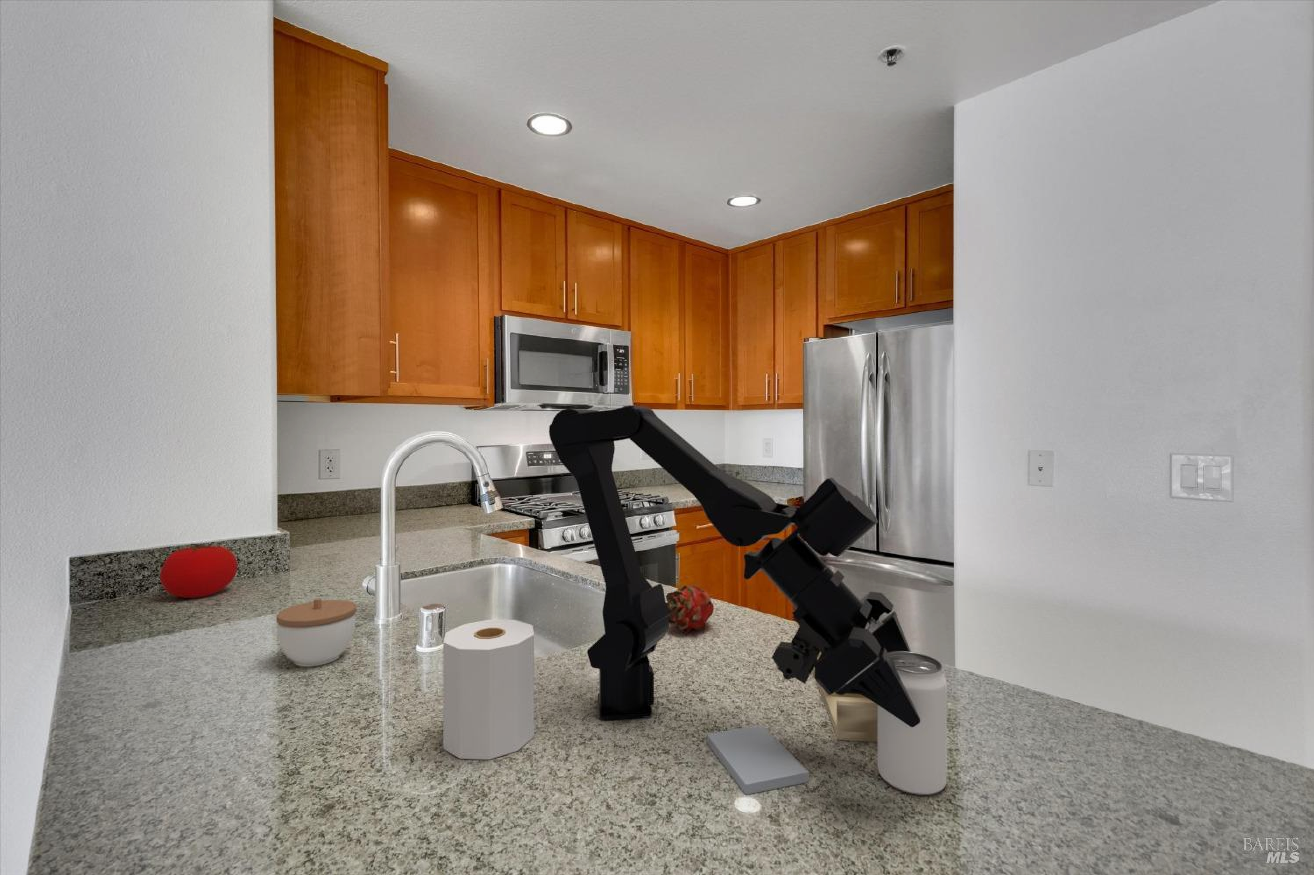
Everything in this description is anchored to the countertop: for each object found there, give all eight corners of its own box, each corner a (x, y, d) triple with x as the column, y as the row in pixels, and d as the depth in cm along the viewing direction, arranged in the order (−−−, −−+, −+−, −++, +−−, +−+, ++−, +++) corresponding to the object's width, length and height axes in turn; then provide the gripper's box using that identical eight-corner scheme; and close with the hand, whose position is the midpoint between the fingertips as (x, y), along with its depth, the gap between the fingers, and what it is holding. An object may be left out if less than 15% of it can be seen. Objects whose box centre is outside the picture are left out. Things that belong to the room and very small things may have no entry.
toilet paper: (535, 711, 74) (535, 616, 74) (532, 756, 63) (532, 646, 63) (451, 718, 72) (451, 620, 72) (434, 765, 62) (434, 651, 62)
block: (745, 794, 57) (745, 784, 57) (706, 742, 66) (706, 733, 66) (808, 781, 59) (808, 772, 59) (761, 733, 68) (761, 724, 68)
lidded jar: (259, 666, 88) (259, 604, 87) (324, 642, 97) (324, 586, 97) (310, 678, 84) (309, 612, 83) (372, 652, 93) (371, 593, 93)
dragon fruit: (670, 648, 99) (695, 636, 110) (710, 624, 97) (731, 614, 108) (646, 603, 102) (673, 596, 113) (684, 578, 100) (708, 573, 111)
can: (954, 801, 56) (955, 677, 56) (883, 793, 57) (884, 671, 57) (936, 764, 62) (937, 652, 62) (872, 757, 63) (873, 647, 63)
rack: (838, 739, 67) (838, 705, 67) (812, 672, 86) (812, 645, 86) (929, 745, 66) (929, 709, 66) (883, 675, 85) (883, 648, 85)
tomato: (145, 602, 120) (145, 549, 120) (204, 585, 133) (204, 537, 133) (194, 605, 118) (194, 551, 118) (249, 588, 131) (249, 539, 131)
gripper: (779, 606, 75) (870, 709, 70) (731, 655, 58) (846, 795, 53) (842, 550, 71) (943, 655, 67) (811, 586, 55) (942, 729, 50)
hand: (918, 704), depth 59 cm, fingers open, 9 cm apart
